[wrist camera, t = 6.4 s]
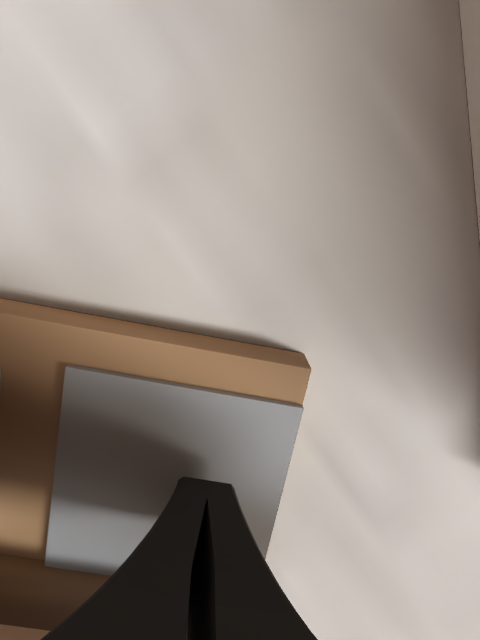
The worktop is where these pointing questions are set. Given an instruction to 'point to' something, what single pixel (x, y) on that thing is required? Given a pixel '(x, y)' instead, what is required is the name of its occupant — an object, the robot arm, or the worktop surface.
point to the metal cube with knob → (0, 376)
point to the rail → (124, 445)
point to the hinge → (472, 81)
